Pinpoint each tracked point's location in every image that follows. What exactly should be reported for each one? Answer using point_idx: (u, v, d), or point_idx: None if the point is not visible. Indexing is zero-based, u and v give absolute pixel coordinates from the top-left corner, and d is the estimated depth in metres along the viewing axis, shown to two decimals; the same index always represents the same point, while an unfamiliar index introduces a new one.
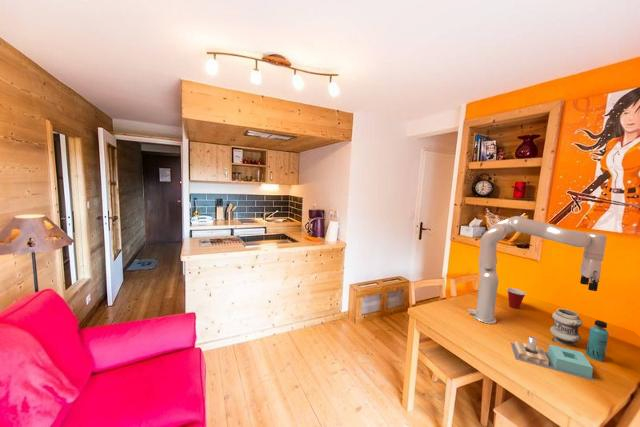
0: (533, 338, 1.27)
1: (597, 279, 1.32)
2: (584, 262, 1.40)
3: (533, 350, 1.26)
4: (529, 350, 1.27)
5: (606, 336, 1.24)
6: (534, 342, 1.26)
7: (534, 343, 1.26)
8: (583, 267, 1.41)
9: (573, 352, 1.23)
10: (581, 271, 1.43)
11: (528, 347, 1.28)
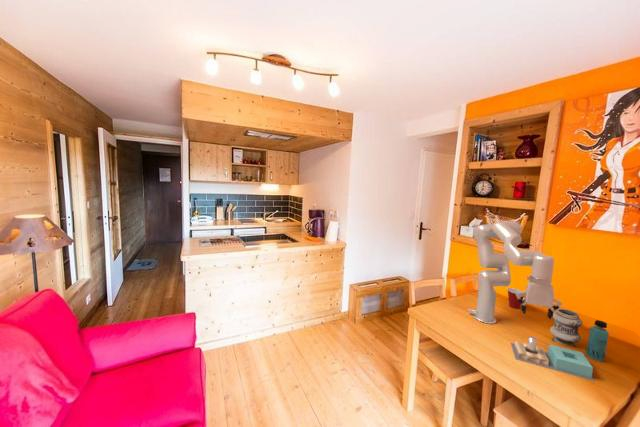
0: (533, 338, 1.27)
1: None
2: (540, 290, 1.22)
3: (533, 350, 1.26)
4: (529, 350, 1.27)
5: (606, 336, 1.24)
6: (534, 342, 1.26)
7: (534, 343, 1.26)
8: (538, 296, 1.22)
9: (573, 352, 1.23)
10: (533, 301, 1.23)
11: (528, 347, 1.28)
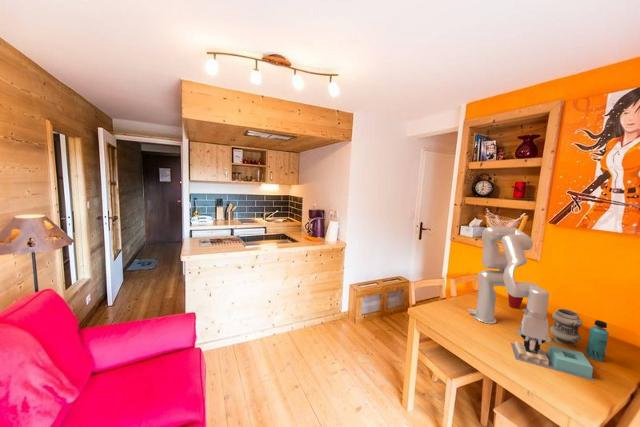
0: (533, 338, 1.27)
1: None
2: (535, 324, 1.24)
3: (533, 350, 1.26)
4: (529, 350, 1.27)
5: (606, 336, 1.24)
6: (534, 342, 1.26)
7: (534, 343, 1.26)
8: (533, 329, 1.24)
9: (573, 352, 1.23)
10: (529, 333, 1.25)
11: (528, 347, 1.28)
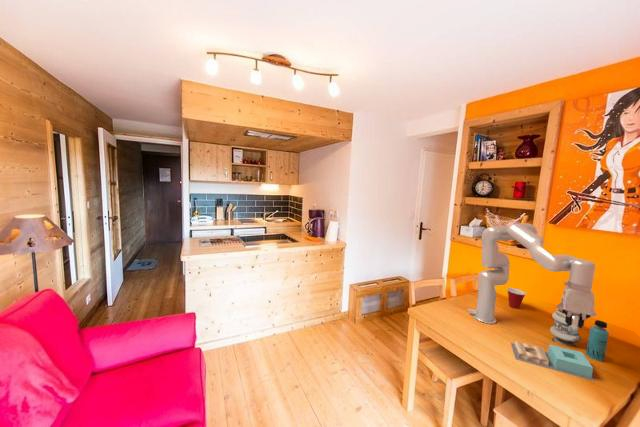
0: (576, 313, 1.18)
1: None
2: (579, 297, 1.15)
3: (576, 326, 1.18)
4: (572, 326, 1.19)
5: (606, 336, 1.24)
6: (577, 317, 1.17)
7: (577, 318, 1.17)
8: (577, 303, 1.16)
9: (573, 352, 1.23)
10: (572, 308, 1.17)
11: None
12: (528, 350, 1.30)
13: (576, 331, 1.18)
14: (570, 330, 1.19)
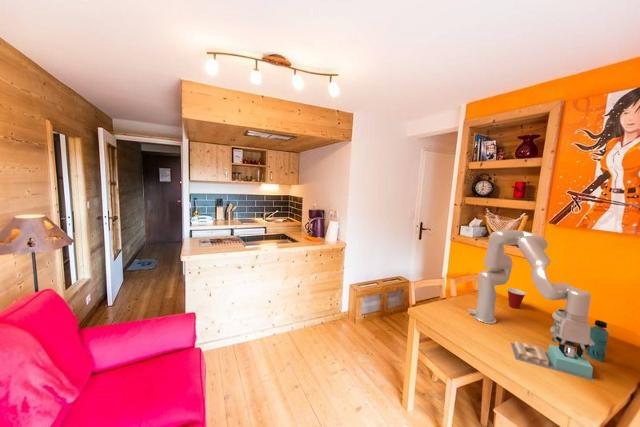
0: (572, 347, 1.20)
1: None
2: (575, 327, 1.17)
3: None
4: None
5: (606, 336, 1.24)
6: (573, 352, 1.19)
7: (573, 353, 1.19)
8: (573, 333, 1.18)
9: None
10: (568, 337, 1.19)
11: None
12: (528, 350, 1.30)
13: None
14: None
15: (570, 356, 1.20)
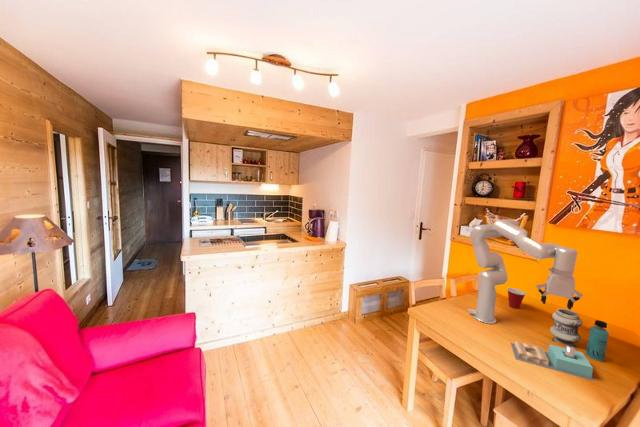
0: (571, 347, 1.20)
1: None
2: (561, 282, 1.25)
3: None
4: None
5: (606, 336, 1.24)
6: (572, 351, 1.19)
7: (572, 353, 1.19)
8: (559, 287, 1.25)
9: None
10: (554, 292, 1.27)
11: None
12: (528, 350, 1.30)
13: None
14: None
15: (570, 356, 1.20)
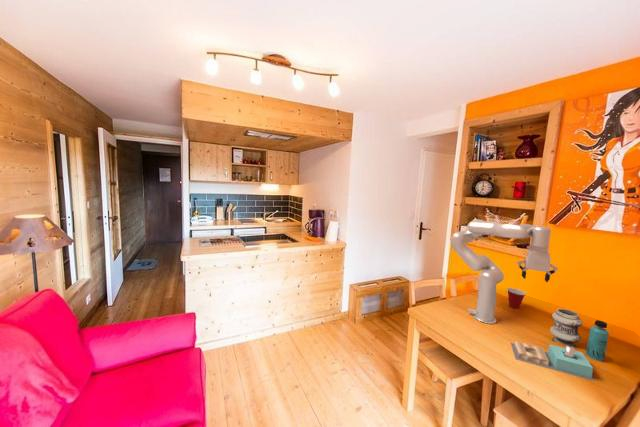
0: (571, 347, 1.20)
1: None
2: (538, 257, 1.39)
3: None
4: None
5: (606, 336, 1.24)
6: (572, 351, 1.19)
7: (572, 353, 1.19)
8: (536, 262, 1.40)
9: None
10: (532, 266, 1.41)
11: None
12: (528, 350, 1.30)
13: None
14: None
15: (569, 356, 1.20)
